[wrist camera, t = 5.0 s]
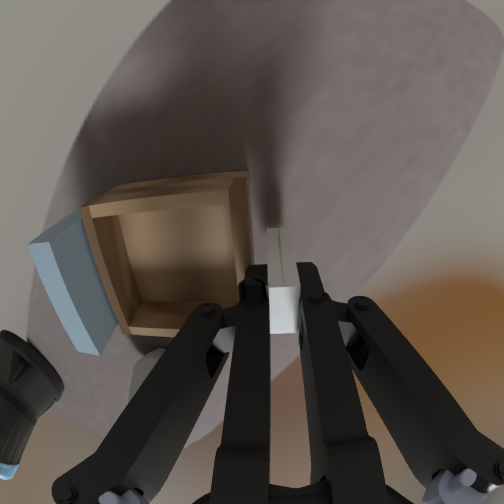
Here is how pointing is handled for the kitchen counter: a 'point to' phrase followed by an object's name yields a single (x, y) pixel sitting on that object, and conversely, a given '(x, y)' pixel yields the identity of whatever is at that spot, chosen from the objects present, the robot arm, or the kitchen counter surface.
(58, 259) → the pale blue lid slab
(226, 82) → the kitchen counter surface
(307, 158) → the kitchen counter surface
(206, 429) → the kitchen counter surface
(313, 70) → the kitchen counter surface
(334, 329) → the robot arm
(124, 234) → the open wooden crate
